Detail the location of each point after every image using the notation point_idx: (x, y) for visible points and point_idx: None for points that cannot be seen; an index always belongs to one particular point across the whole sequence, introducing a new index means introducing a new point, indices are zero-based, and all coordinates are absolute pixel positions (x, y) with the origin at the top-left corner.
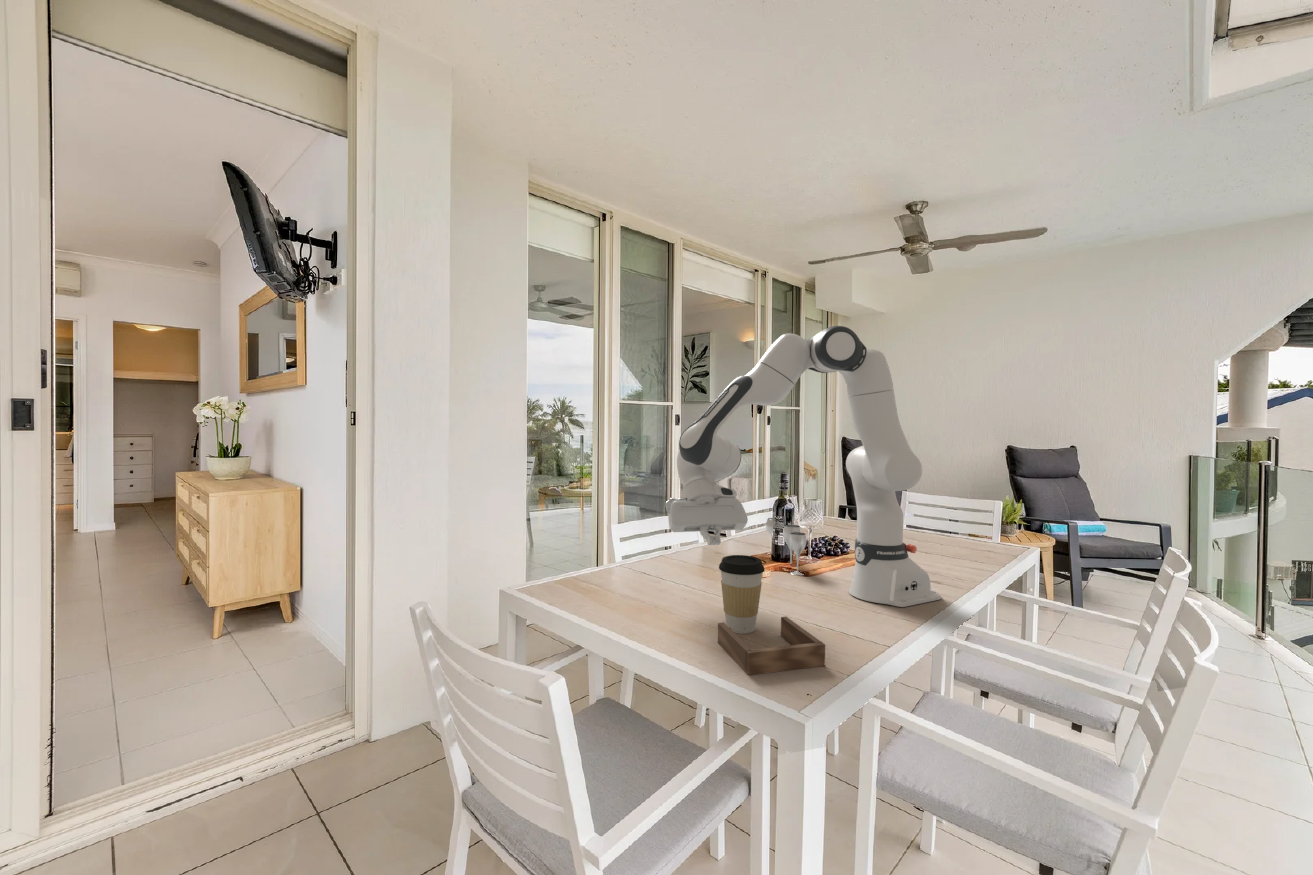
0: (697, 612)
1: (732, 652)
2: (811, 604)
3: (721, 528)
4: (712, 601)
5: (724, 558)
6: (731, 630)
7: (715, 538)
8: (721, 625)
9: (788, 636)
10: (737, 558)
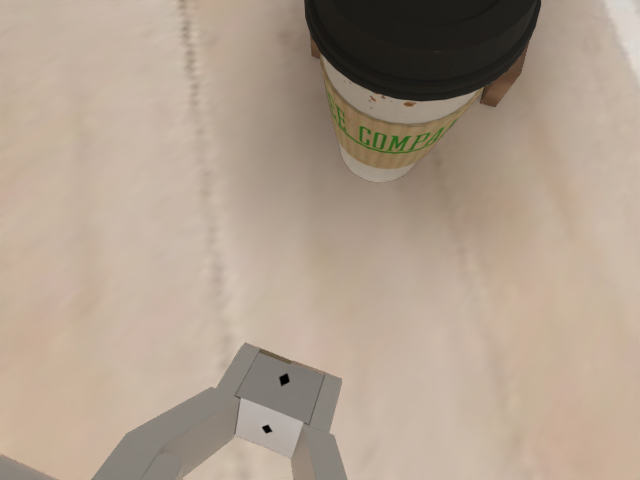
0: (412, 310)
1: None
2: (58, 171)
3: (124, 441)
4: None
5: (503, 17)
6: None
7: (275, 378)
8: (522, 56)
9: None
10: (413, 7)
